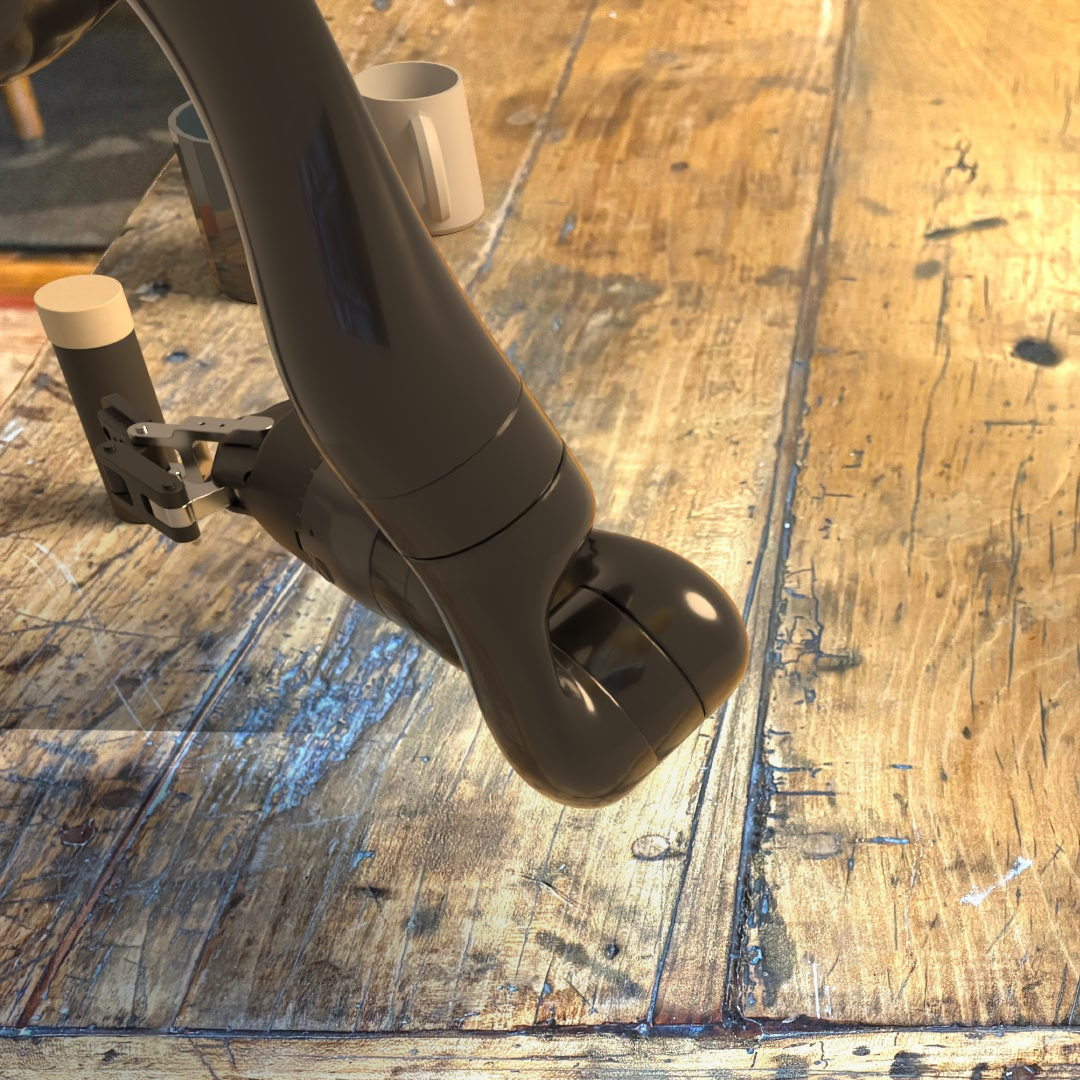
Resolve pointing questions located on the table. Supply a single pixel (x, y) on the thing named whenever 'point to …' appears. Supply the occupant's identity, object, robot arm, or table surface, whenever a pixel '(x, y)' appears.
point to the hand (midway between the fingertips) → (198, 384)
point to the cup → (427, 139)
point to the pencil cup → (211, 204)
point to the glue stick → (97, 355)
